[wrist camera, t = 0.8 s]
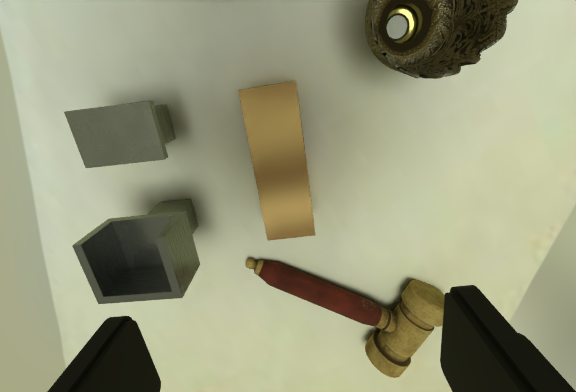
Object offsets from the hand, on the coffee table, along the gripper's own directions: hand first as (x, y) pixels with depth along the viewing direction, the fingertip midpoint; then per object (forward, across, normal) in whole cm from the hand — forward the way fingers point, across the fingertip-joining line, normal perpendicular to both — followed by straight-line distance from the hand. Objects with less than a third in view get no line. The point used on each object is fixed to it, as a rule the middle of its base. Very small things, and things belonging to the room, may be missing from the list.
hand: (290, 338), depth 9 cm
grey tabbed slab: (+19, +12, -5) cm, 23 cm away
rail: (+20, +1, -1) cm, 20 cm away
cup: (+20, -9, -10) cm, 24 cm away
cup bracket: (+20, +12, +3) cm, 23 cm away
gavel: (+20, -3, +15) cm, 25 cm away
